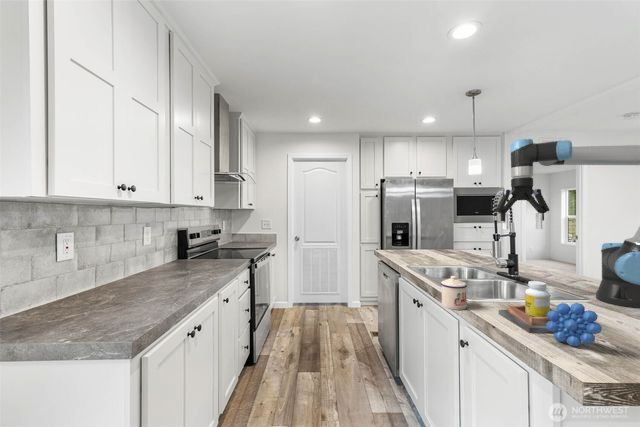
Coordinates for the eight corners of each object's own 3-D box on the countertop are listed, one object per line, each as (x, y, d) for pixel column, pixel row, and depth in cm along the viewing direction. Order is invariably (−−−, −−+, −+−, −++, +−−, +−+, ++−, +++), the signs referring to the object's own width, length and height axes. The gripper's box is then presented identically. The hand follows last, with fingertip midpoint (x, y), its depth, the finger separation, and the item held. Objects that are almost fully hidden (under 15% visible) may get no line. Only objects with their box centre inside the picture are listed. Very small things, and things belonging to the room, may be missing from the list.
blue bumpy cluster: (605, 349, 76) (605, 304, 76) (599, 357, 72) (599, 309, 72) (551, 334, 86) (551, 294, 86) (543, 340, 82) (542, 298, 82)
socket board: (544, 313, 103) (544, 303, 102) (584, 333, 87) (584, 320, 87) (498, 313, 103) (498, 303, 103) (529, 333, 87) (529, 320, 87)
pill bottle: (527, 313, 99) (527, 279, 99) (551, 317, 95) (551, 282, 95) (523, 318, 95) (523, 282, 95) (548, 323, 90) (547, 286, 90)
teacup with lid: (457, 312, 106) (457, 280, 105) (436, 305, 113) (435, 275, 113) (476, 306, 112) (476, 276, 112) (455, 300, 120) (454, 271, 119)
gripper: (546, 178, 123) (546, 228, 123) (486, 179, 124) (486, 228, 124) (560, 176, 116) (560, 229, 116) (496, 177, 117) (496, 230, 117)
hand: (522, 229), depth 120 cm, fingers open, 13 cm apart
